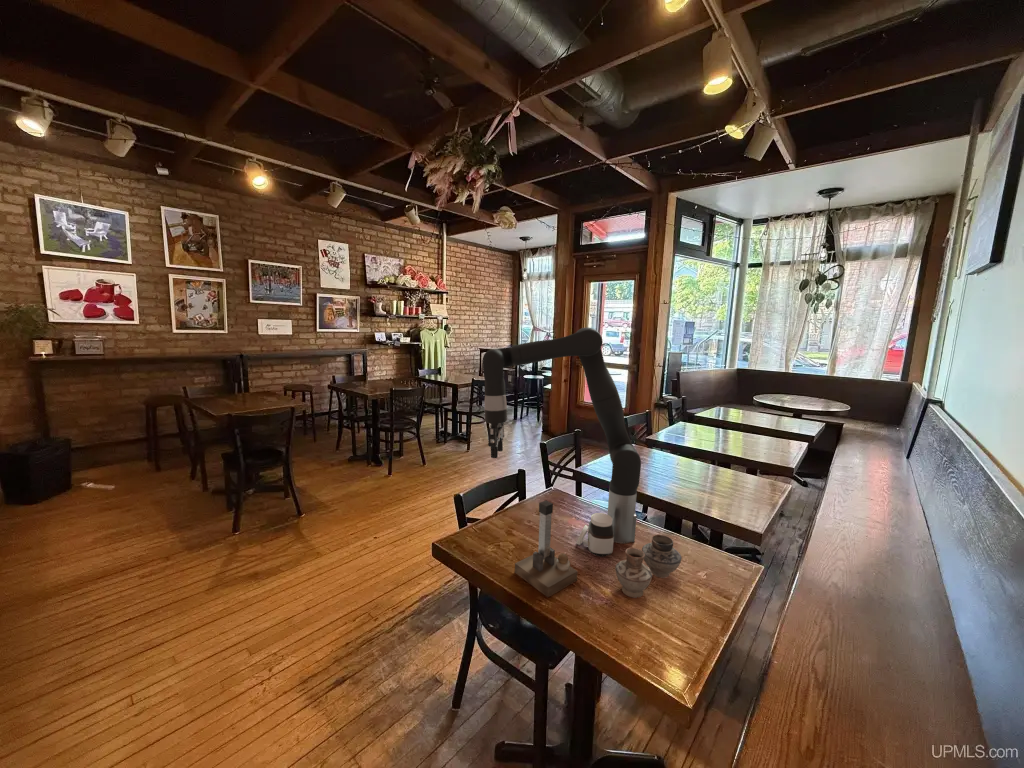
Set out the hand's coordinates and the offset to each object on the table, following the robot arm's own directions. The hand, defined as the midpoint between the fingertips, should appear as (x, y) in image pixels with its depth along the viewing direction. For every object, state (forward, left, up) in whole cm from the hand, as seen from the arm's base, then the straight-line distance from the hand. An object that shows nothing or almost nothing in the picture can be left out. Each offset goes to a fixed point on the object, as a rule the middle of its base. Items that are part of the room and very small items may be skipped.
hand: (497, 454), depth 141 cm
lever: (-17, +23, -23) cm, 37 cm away
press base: (-17, +23, -29) cm, 40 cm away
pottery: (-48, +22, -29) cm, 60 cm away
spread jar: (-34, +7, -29) cm, 45 cm away
